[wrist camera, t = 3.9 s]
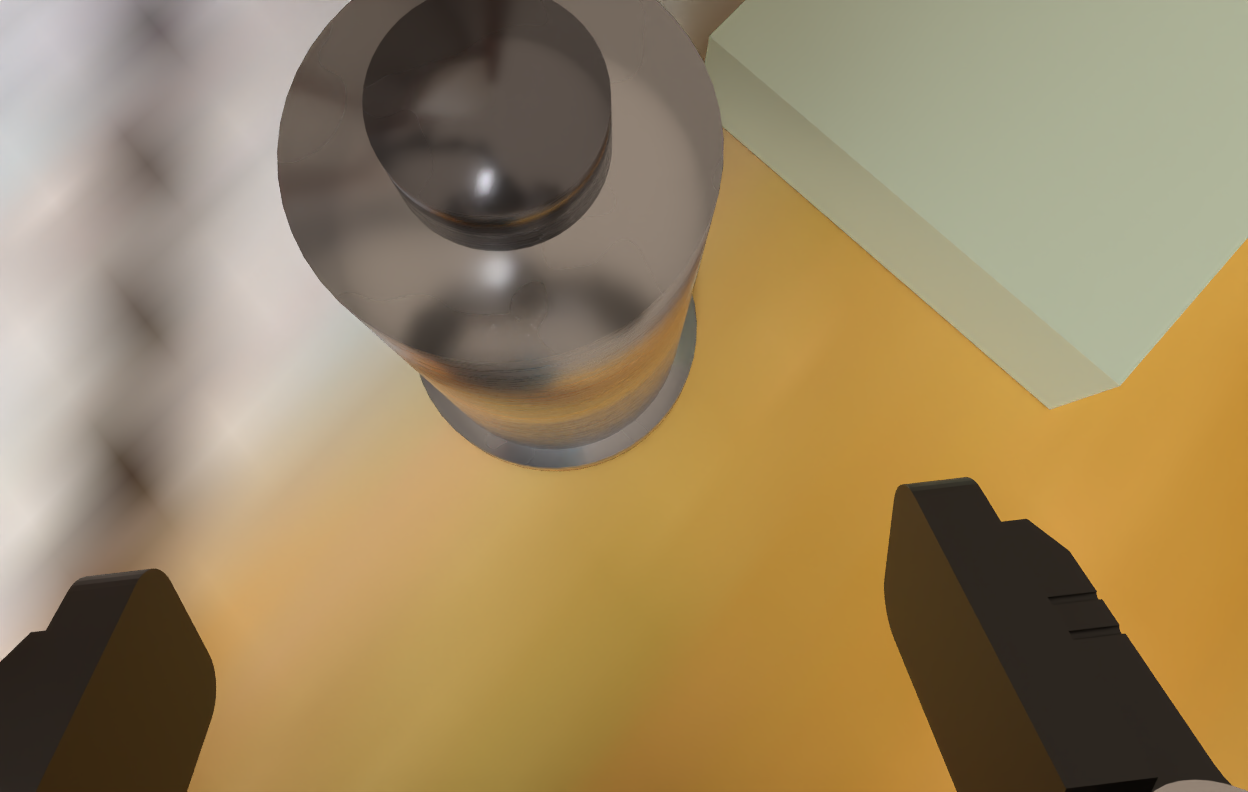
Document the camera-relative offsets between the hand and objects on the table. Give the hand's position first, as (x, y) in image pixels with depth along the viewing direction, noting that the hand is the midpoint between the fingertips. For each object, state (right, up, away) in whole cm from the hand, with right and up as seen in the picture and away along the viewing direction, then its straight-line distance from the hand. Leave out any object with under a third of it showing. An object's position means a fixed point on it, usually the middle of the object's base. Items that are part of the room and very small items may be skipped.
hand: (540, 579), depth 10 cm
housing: (-1, +4, +11) cm, 12 cm away
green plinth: (+11, +9, +12) cm, 19 cm away
